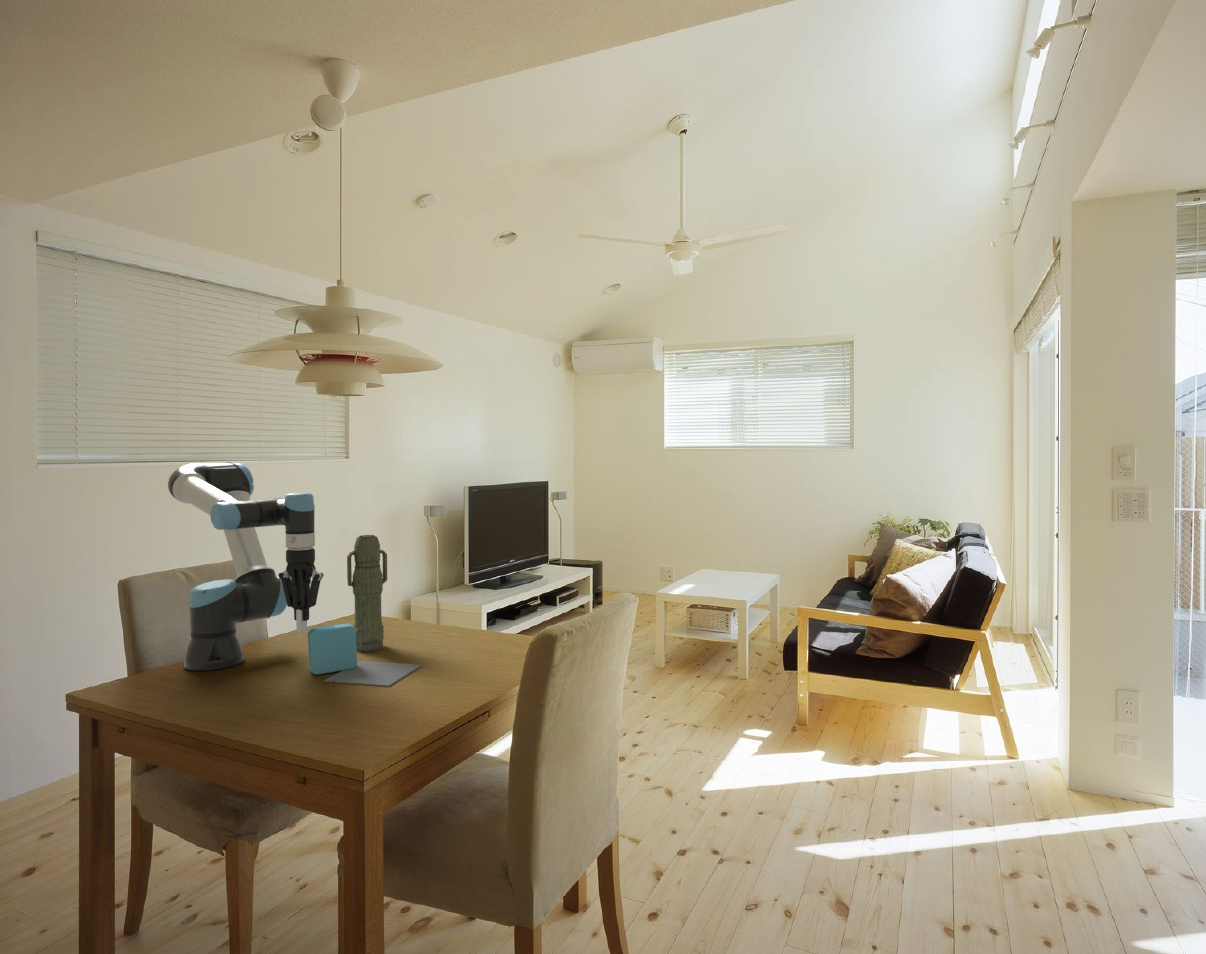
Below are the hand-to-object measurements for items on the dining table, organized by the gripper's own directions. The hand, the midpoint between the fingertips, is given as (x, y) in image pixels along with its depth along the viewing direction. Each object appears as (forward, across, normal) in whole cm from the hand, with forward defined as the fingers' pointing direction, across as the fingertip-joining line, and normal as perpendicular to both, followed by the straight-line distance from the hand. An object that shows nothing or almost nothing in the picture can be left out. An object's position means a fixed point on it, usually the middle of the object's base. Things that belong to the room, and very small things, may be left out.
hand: (302, 631), depth 200 cm
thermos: (+11, +7, +23) cm, 26 cm away
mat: (+11, +22, 0) cm, 25 cm away
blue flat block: (+10, +10, 0) cm, 14 cm away
